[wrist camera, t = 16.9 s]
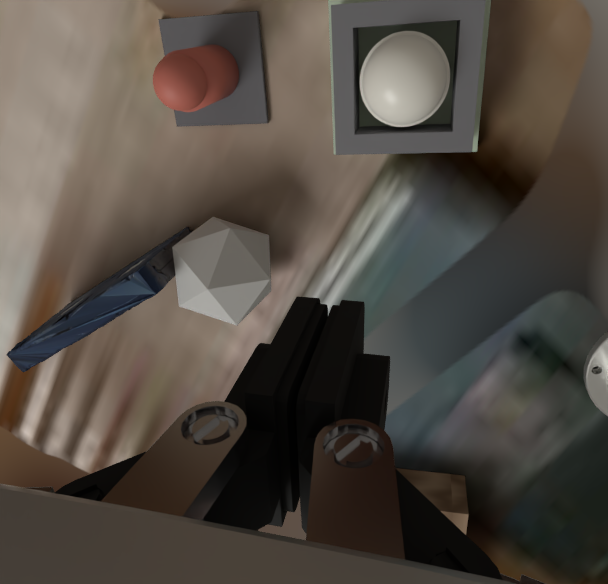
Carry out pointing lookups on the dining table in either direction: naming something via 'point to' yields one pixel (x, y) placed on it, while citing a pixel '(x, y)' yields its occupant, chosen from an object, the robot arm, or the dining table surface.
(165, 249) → the vhs cassette tape
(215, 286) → the die
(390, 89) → the popper dome
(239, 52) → the coaster
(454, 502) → the snack corral
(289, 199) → the dining table surface
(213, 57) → the pawn
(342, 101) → the popper base
